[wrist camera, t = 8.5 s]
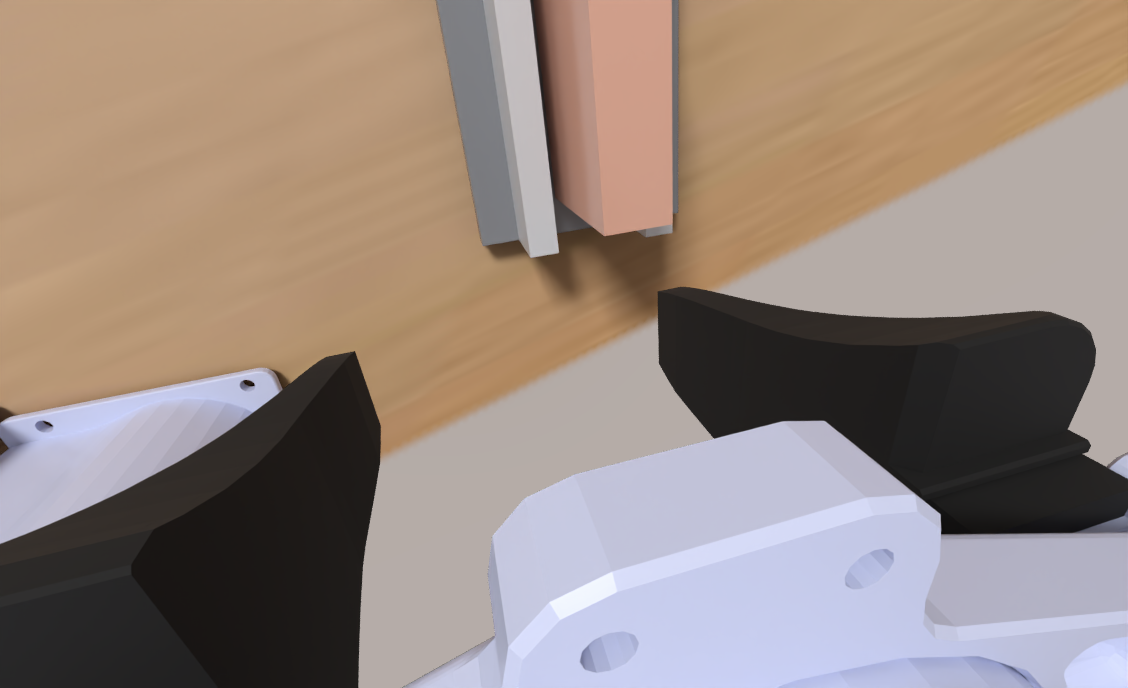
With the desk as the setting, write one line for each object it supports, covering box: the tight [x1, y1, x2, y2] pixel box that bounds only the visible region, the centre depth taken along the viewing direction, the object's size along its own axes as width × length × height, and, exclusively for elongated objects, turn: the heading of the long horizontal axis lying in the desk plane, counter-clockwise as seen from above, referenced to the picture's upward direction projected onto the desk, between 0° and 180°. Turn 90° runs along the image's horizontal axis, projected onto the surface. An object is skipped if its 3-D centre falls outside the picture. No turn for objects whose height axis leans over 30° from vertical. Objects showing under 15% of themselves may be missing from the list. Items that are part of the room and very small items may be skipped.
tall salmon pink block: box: [533, 0, 673, 236], centre depth 14 cm, size 2×8×6 cm, turn 6°
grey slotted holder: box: [436, 0, 678, 258], centre depth 16 cm, size 8×11×4 cm
